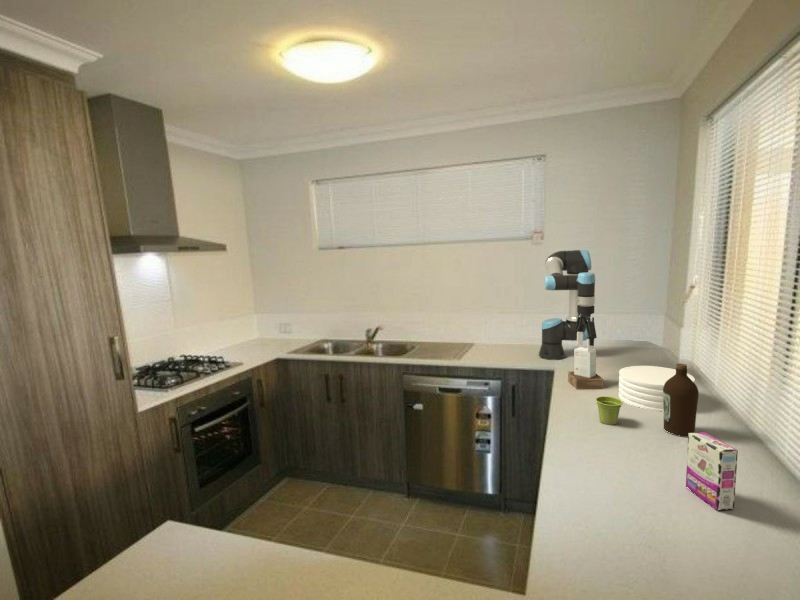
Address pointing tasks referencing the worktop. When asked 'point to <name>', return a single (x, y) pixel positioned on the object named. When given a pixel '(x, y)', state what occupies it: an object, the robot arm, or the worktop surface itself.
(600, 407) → the plant pot
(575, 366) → the small box
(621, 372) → the plate stack
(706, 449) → the candy bar box
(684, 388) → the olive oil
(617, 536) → the worktop surface
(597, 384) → the block
